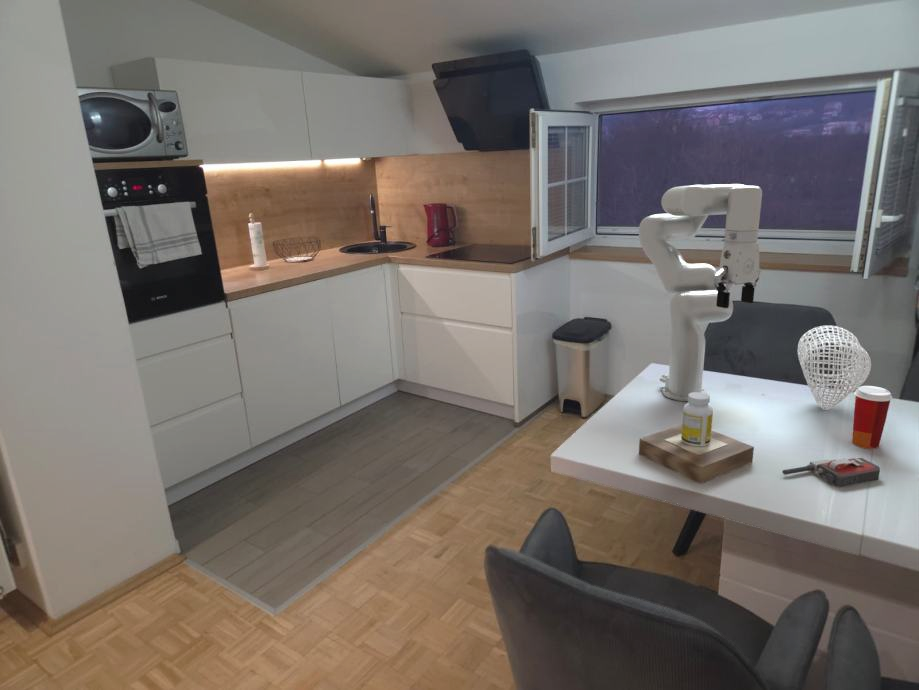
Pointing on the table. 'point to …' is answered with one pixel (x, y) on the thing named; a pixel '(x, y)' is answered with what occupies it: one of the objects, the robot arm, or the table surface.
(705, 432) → the pill bottle
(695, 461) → the stand
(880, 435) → the paper cup
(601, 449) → the table surface
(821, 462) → the walkie-talkie
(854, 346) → the heart
